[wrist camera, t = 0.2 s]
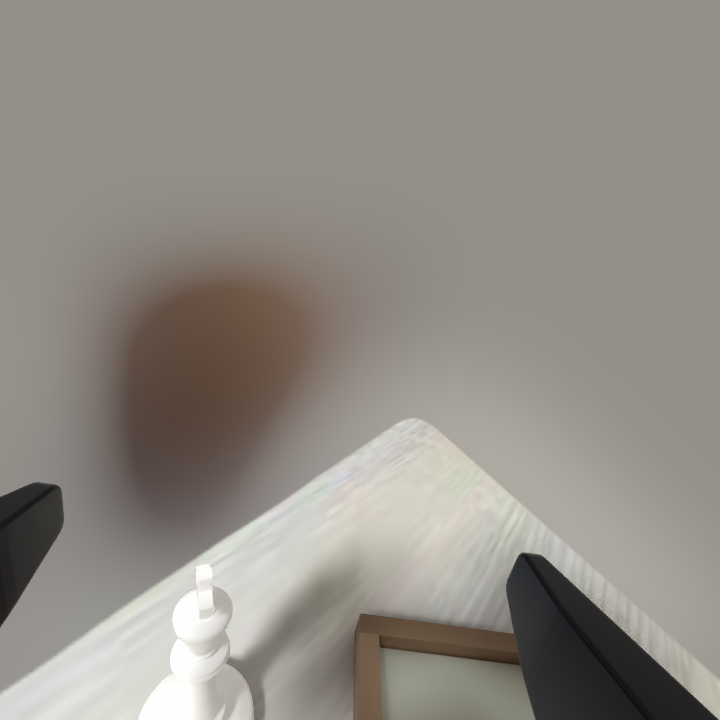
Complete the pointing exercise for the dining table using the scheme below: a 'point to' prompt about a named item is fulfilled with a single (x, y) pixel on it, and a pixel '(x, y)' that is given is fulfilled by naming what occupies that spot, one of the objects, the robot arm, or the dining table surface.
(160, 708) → the chess piece
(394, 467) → the dining table surface
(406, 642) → the walnut tray
